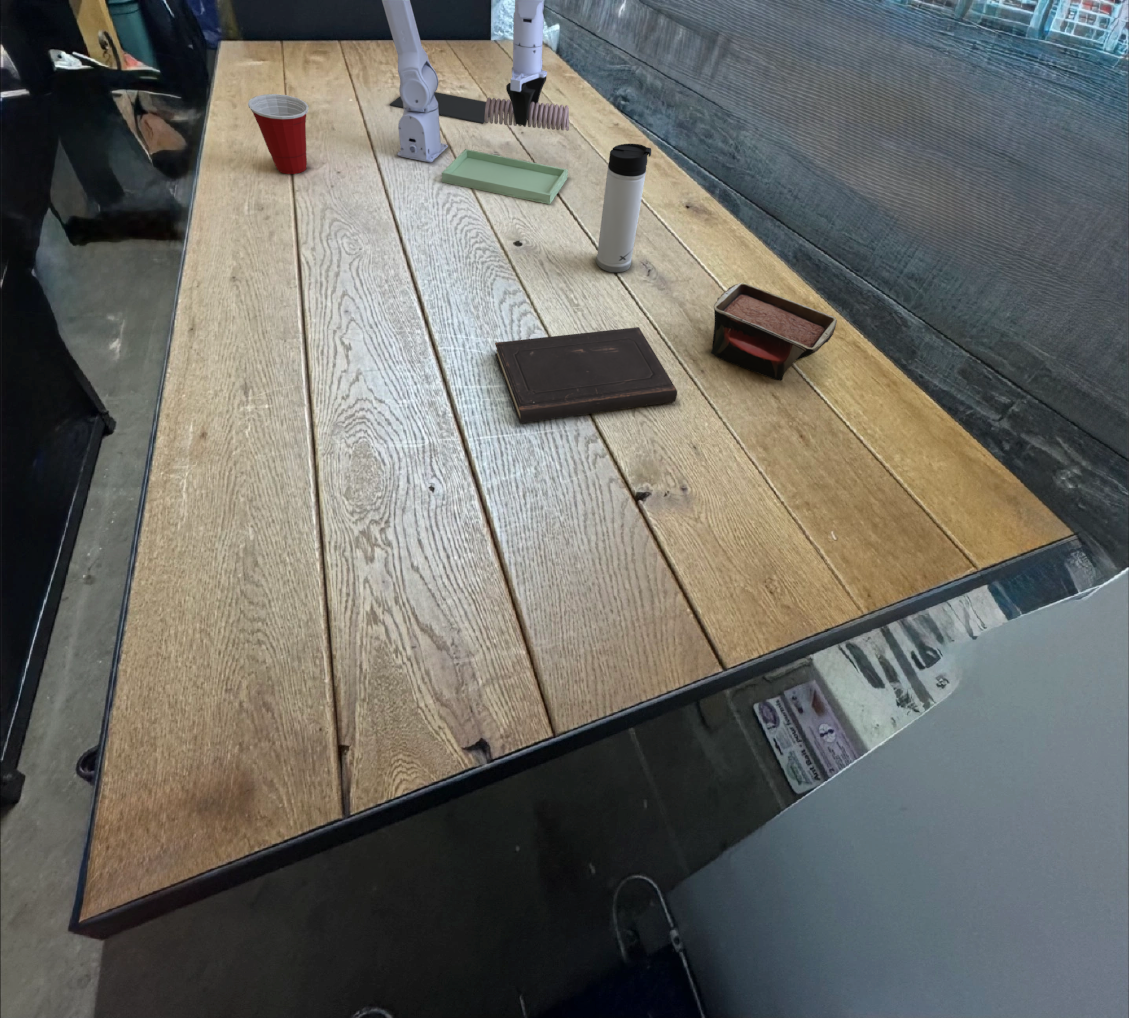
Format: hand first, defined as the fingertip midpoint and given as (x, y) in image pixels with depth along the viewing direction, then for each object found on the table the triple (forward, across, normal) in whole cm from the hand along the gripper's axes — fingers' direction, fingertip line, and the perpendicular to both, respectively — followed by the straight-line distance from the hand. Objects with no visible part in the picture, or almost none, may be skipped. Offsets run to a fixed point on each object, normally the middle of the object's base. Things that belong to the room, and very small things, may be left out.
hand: (525, 119), depth 137 cm
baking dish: (+9, -51, -57) cm, 77 cm away
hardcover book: (+9, -68, -32) cm, 76 cm away
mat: (+8, +22, +28) cm, 36 cm away
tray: (+8, -11, 0) cm, 14 cm away
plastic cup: (+9, -25, +41) cm, 49 cm away
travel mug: (+9, -34, -29) cm, 46 cm away
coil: (+2, 0, 0) cm, 2 cm away
